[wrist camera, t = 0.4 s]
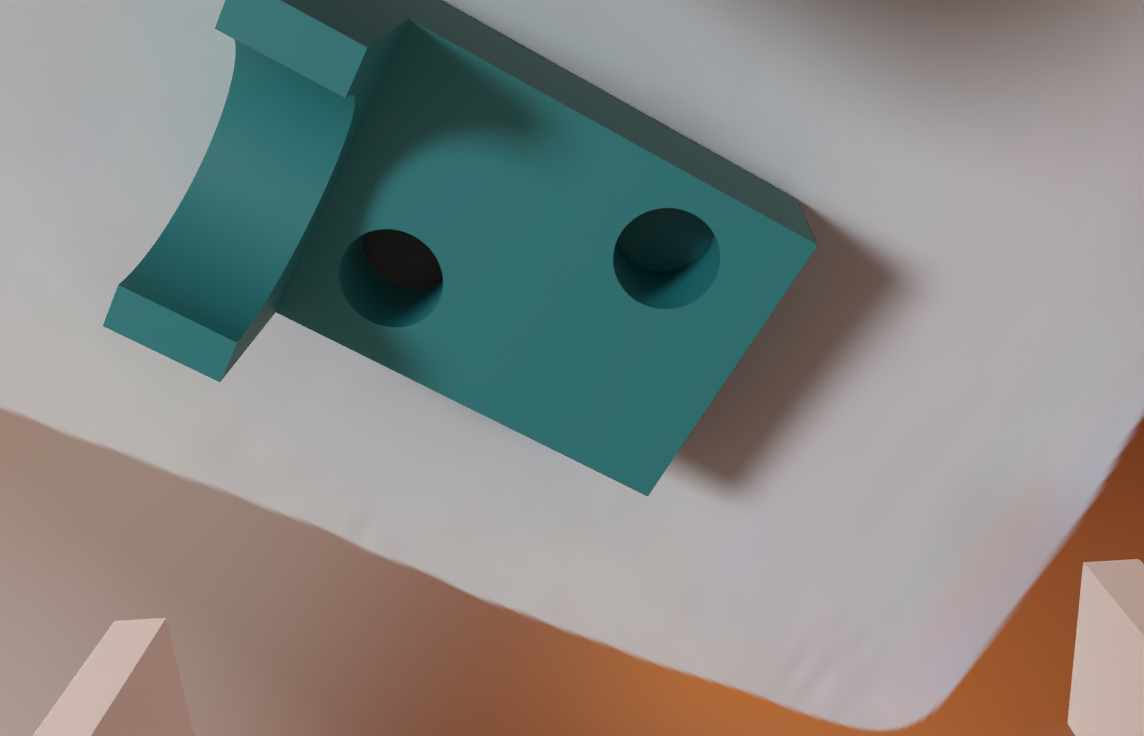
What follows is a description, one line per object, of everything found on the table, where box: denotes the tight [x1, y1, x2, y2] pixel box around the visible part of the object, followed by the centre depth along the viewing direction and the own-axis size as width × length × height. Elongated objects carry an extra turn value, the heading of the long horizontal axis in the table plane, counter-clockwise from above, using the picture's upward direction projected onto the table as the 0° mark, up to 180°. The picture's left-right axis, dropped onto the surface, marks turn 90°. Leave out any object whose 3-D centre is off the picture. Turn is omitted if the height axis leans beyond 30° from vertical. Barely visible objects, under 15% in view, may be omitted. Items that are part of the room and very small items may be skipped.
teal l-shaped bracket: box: [103, 0, 818, 496], centre depth 35 cm, size 18×11×10 cm, turn 62°
